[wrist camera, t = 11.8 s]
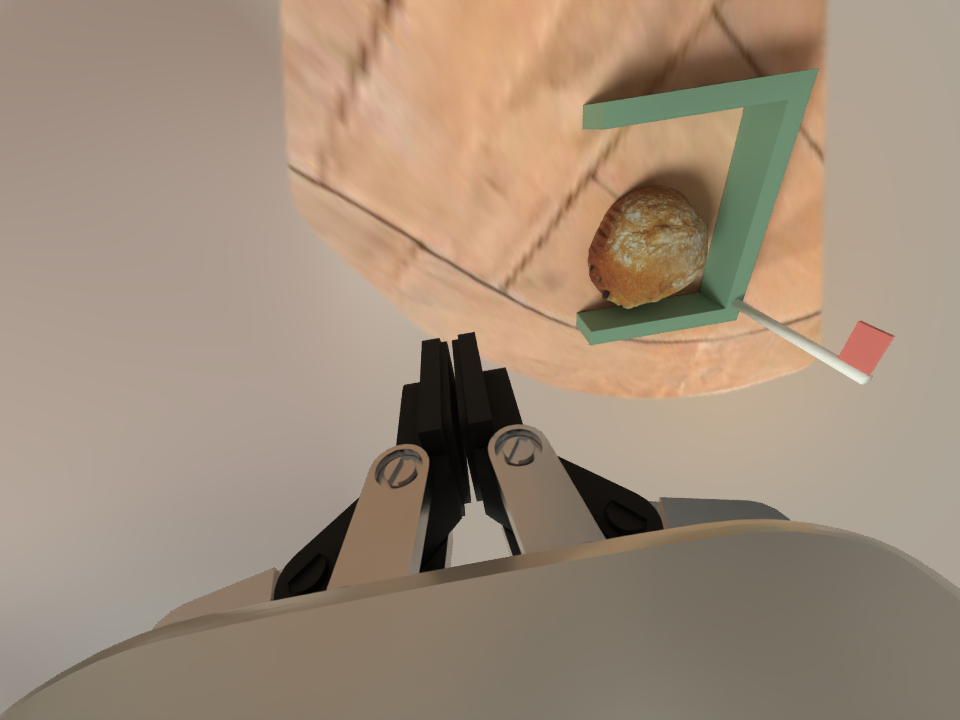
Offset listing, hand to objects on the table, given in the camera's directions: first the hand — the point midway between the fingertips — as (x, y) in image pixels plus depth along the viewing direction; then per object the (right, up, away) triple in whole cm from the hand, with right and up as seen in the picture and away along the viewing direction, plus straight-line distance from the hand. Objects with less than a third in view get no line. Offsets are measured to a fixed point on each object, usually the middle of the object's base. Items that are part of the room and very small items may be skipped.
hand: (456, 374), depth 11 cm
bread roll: (+15, +11, +22) cm, 29 cm away
